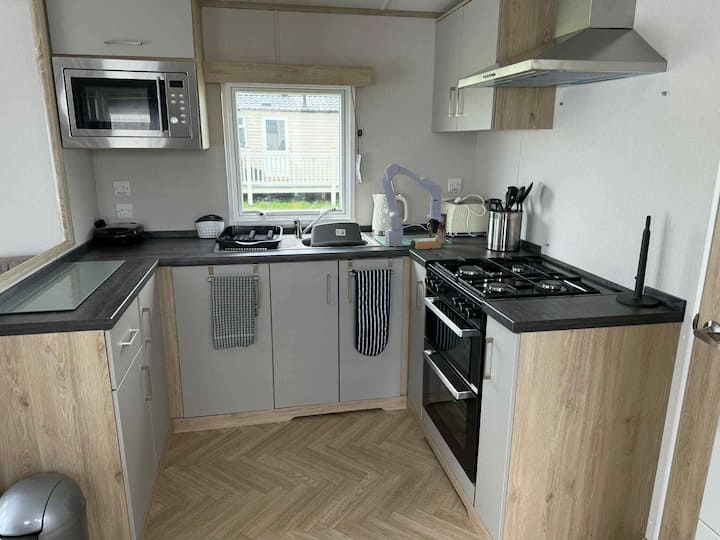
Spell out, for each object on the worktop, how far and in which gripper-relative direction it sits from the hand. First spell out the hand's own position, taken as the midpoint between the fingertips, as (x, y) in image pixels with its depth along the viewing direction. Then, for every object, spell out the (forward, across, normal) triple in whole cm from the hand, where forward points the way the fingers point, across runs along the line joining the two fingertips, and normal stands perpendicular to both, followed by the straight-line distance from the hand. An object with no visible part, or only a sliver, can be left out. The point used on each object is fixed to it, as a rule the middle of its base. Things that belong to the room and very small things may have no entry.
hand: (434, 233), depth 274 cm
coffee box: (+8, +12, -9) cm, 17 cm away
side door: (+7, -4, +5) cm, 9 cm away
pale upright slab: (+7, 0, +5) cm, 9 cm away
